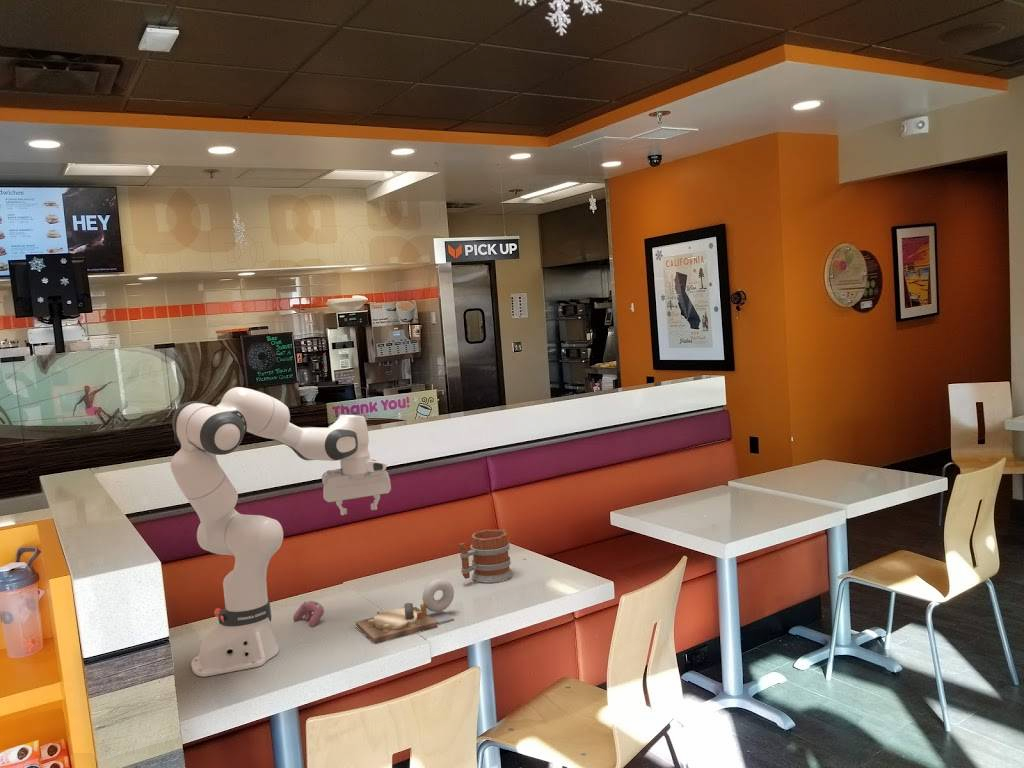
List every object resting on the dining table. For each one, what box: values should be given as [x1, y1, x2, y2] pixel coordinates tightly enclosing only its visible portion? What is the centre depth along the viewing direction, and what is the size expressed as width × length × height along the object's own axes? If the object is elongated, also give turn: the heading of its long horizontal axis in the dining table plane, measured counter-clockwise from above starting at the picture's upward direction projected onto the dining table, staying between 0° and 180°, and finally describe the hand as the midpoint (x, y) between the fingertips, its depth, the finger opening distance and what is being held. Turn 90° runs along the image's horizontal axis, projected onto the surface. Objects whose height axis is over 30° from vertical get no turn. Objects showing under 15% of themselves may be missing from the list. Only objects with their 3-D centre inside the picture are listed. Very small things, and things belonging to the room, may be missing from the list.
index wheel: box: [368, 602, 423, 632], centre depth 233 cm, size 15×15×6 cm
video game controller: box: [292, 600, 325, 627], centre depth 243 cm, size 10×5×7 cm, turn 48°
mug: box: [459, 529, 513, 584], centre depth 271 cm, size 14×19×15 cm
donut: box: [422, 578, 455, 612], centre depth 239 cm, size 10×3×10 cm, turn 121°
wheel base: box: [355, 603, 439, 644], centre depth 233 cm, size 19×16×4 cm
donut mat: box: [426, 608, 455, 625], centre depth 240 cm, size 5×13×1 cm, turn 29°
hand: (359, 512), depth 243 cm, fingers open, 8 cm apart
